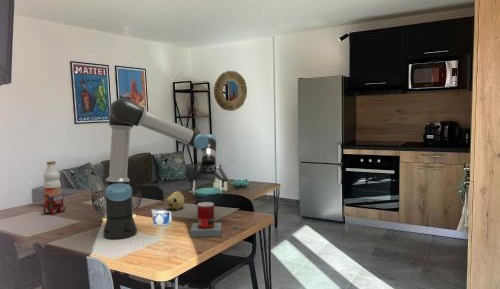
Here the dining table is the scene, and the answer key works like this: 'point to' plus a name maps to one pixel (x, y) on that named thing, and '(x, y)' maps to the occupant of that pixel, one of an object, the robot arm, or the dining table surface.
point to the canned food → (205, 215)
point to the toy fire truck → (54, 204)
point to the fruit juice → (51, 181)
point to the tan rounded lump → (175, 200)
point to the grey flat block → (206, 231)
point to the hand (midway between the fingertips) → (207, 192)
